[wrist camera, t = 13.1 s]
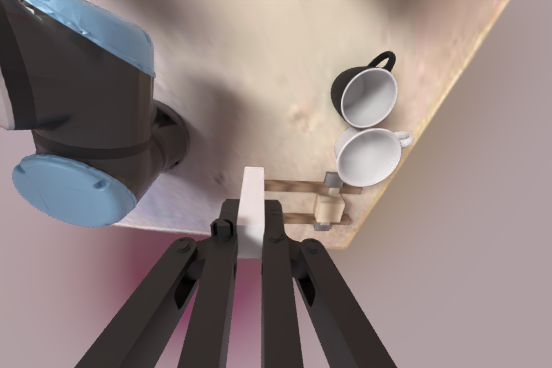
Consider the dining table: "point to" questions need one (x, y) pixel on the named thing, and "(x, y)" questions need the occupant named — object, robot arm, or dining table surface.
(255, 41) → the dining table surface
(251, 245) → the robot arm
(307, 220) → the beam slot
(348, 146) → the teacup
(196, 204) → the dining table surface
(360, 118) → the mug
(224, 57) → the dining table surface
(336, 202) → the block
